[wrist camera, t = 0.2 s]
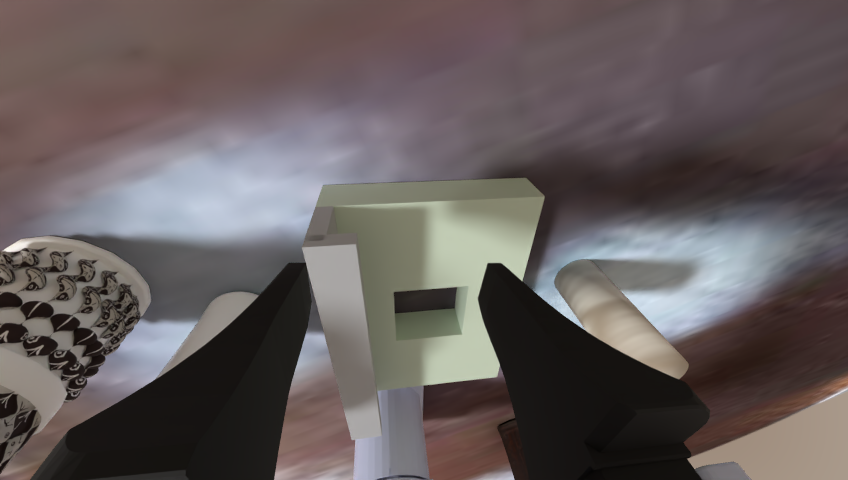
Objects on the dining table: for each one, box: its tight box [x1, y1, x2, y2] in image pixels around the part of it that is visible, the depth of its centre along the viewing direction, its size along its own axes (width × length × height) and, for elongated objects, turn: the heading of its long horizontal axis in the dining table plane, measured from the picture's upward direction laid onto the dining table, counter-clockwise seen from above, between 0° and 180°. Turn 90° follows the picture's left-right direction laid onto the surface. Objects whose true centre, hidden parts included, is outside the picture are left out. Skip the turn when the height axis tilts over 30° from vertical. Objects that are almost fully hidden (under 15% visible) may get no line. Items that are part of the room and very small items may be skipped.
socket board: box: [302, 178, 545, 440], centre depth 24 cm, size 20×14×7 cm
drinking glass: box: [156, 292, 259, 379], centre depth 19 cm, size 7×7×15 cm
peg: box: [554, 259, 689, 379], centre depth 24 cm, size 4×4×10 cm
